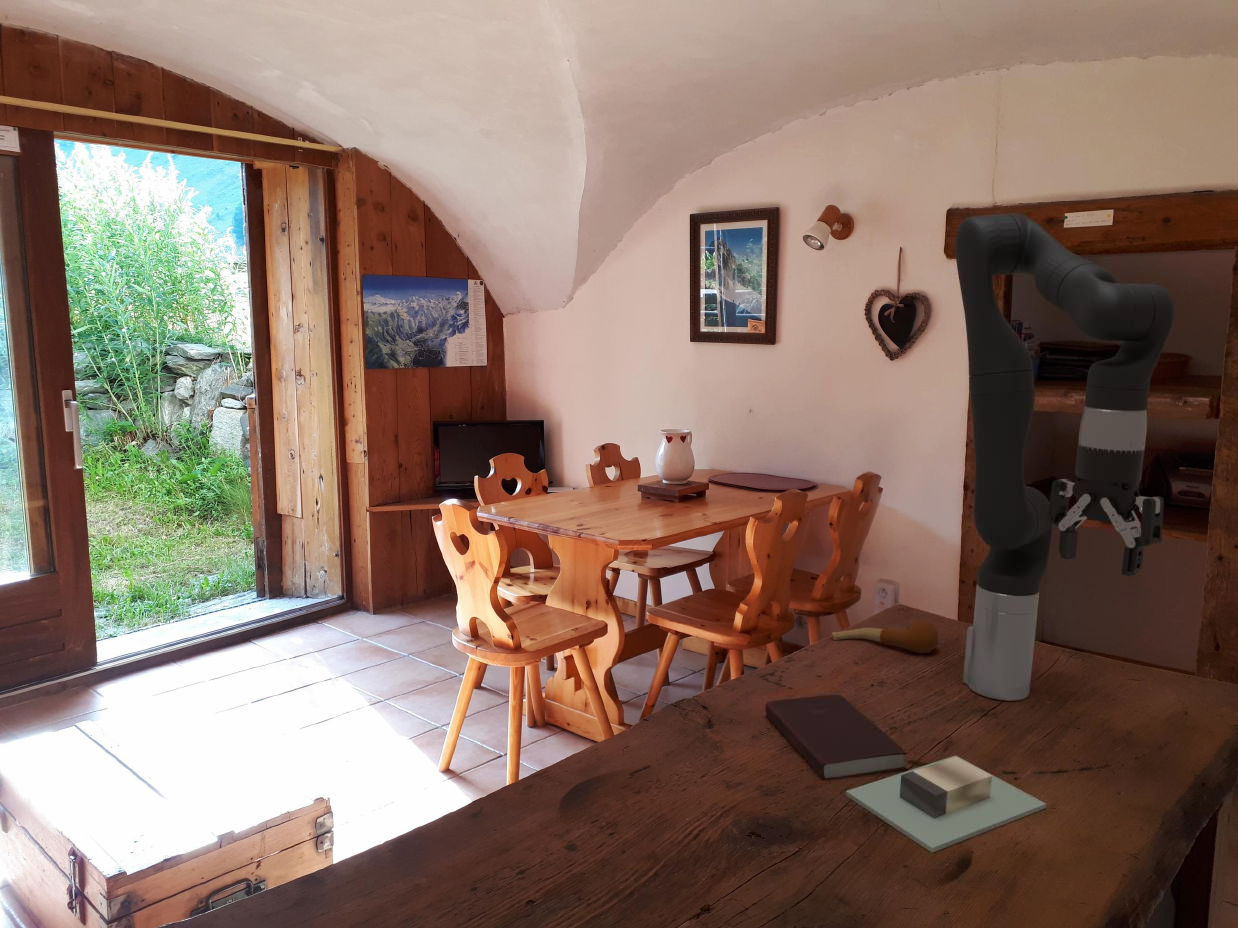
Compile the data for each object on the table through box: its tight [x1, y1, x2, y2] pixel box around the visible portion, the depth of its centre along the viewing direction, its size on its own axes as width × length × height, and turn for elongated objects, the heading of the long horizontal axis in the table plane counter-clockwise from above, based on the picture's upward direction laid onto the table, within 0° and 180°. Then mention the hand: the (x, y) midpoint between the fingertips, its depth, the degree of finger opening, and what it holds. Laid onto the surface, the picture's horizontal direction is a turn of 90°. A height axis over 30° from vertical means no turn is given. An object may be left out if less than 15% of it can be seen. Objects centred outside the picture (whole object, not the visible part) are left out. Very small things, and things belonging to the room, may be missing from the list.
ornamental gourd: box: [831, 618, 939, 655], centre depth 169 cm, size 7×18×6 cm, turn 77°
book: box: [765, 694, 908, 781], centre depth 133 cm, size 12×19×3 cm, turn 14°
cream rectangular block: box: [900, 756, 993, 818], centre depth 117 cm, size 10×6×3 cm, turn 120°
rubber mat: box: [845, 754, 1047, 854], centre depth 117 cm, size 14×20×1 cm
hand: (1097, 566), depth 122 cm, fingers open, 8 cm apart
